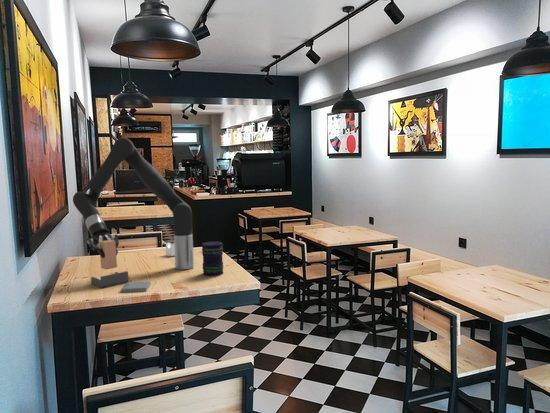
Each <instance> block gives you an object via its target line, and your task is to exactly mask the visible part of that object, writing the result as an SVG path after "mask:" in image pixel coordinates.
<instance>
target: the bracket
mask: <svg viewBox="0 0 550 413" xmlns="http://www.w3.org/2000/svg"><path fill="white" fill-rule="evenodd" d="M165 251H166V252H165V253H166V254H165V255H166V256H168V257H175V247H174V243H173V244H172V242H166V243H165Z"/></svg>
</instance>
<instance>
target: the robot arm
mask: <svg viewBox="0 0 550 413" xmlns="http://www.w3.org/2000/svg"><path fill="white" fill-rule="evenodd" d="M103 161H104V162H103V163H102V164H101V165H100V166H99V168H98V169H97V170H96V171H95V173H94V174H93V175H92V177H91V178H90V180H89V181H88V182H87V184H86V187H87V188H88V189H89V191H88V193H86V192H84V191H77V192H75V193H74V195H73V196H72V202H73V205H74V207H75V208H76V210H77V211H78V212H79V213H80V214H81V215H82V218H83V220H84V222H85V226H86V228H87V230H88V233H89V235H90V236H91V238H90V237H89V238H87V240H86V245H88V246H89V248H90V249H91V250H92V251H93V252H98V254H99V256H101V257H102V258H104V257H105V253H104V251H103V249H101V248H102V247H101V243H100V241H105V240H114V241H115V243H116V257H117V255H118V253H119V251H118V247H119V244H120V243H119V242H120V241H119V237H118V234H114V235H112V234H111V233H109V229H108V228H107V225H106V223H105V221H104V219H103V218H102V216H101V214H100V212H99V210H98V208H96V204H97V202H98V200H99V198H100V195H101V192H102V191H103V189H104V188H105V187H106V185H107V184H108V182H109V181H110V179H111V178H112V176H113V174H114V173H115V171H116V170H117V168H118V167H119V165H121V163H122V162H123V161H125V162H126V163H127V164H128V165H129V166H130V167H131V168H132V170H134V172H135V173H136V175H137V177H138V178H139V179H140V181H141V182H142V183H143V185H144V186H145V187H146V188H147V189H148V190H149V191H150V192H151V193H153V195H155V196H156V197H157V198H158V199H159V200H160V201H162V202H163V203H165V205H166V206H167V207H168V209H169V210H170V211H171V213H172V217H173V218H172V219H173V220H172V222H173V223H172V224H173V238H174V239H173V244H174V247H175V256H174V265H175V266H174V267H175V269H176V270H189V269H194V267H195V255H194V252H195V251H194V240H193V237H194V236H193V211H192V208H191V205H190V204H188V203H187V202H186V201H184V200H183V199H182V198H181V197H180V196H179V195H178V194H177V193H176V191H174V189H173V188H172V186H171V185H170V183H169V182H168V181H167V179H166V178H165V177H164V176H163V175H162V174H161V173H160V172H159V170H157V169H156V168H155V167H154V166H153V165H152V164H151V163H149V161H147V160H146V159H145V157H143V156H142V155H141V154H140V152H139V151H138V149H137V148H136V146H135V145H134V143H133V141H131V139H129V138H127V137H119V138H117V139H116V140H115V141H114V143H113V146H112V147H111V150H110V151H109V154H108V155H107V157H105V160H103Z"/></svg>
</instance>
